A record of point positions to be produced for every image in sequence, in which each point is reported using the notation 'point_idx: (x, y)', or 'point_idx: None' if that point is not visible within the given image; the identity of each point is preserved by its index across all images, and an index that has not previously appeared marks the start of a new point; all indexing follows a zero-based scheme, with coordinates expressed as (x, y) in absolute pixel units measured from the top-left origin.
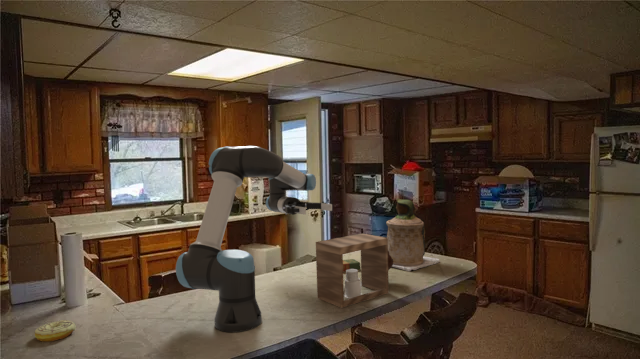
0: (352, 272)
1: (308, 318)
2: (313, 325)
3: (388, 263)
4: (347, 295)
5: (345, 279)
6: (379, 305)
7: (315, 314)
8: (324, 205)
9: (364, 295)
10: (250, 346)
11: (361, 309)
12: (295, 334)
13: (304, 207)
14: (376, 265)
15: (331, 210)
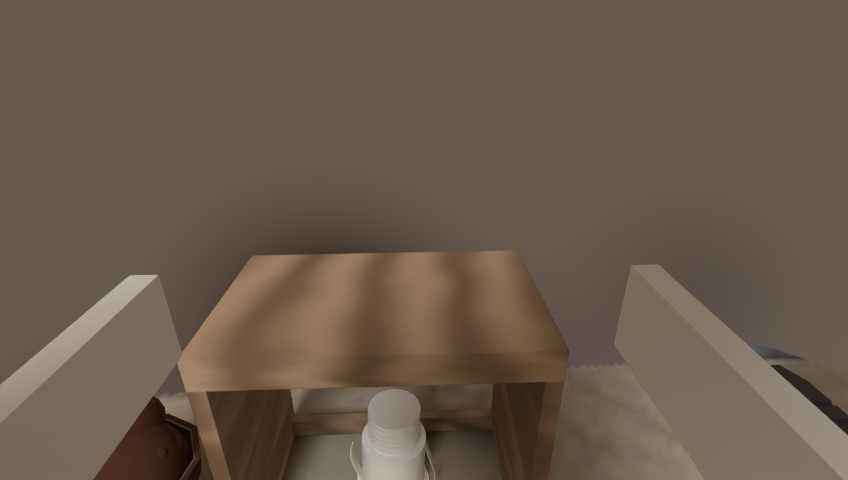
0: (409, 392)
1: (627, 417)
2: (624, 380)
3: (170, 416)
4: (423, 477)
5: (413, 454)
6: None
7: (598, 428)
8: (52, 417)
9: None
10: (798, 374)
11: (458, 385)
12: None
13: (648, 271)
14: (269, 393)
15: (170, 350)
